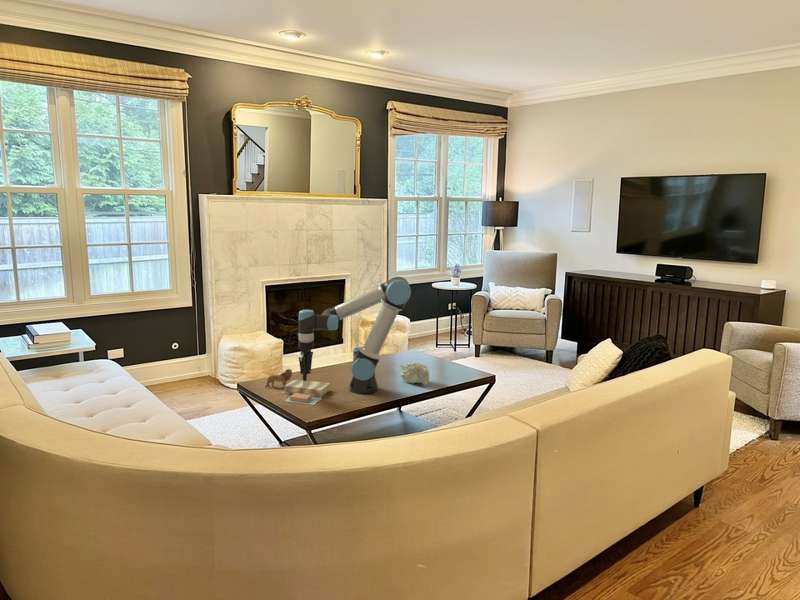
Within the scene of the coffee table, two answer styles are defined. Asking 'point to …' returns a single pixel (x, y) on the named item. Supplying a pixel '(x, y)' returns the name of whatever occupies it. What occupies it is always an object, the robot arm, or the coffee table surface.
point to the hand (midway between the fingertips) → (305, 386)
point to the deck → (307, 388)
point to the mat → (310, 402)
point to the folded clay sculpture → (415, 373)
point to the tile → (300, 397)
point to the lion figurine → (280, 378)
